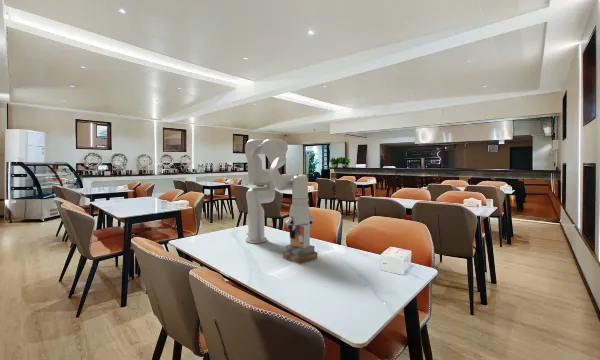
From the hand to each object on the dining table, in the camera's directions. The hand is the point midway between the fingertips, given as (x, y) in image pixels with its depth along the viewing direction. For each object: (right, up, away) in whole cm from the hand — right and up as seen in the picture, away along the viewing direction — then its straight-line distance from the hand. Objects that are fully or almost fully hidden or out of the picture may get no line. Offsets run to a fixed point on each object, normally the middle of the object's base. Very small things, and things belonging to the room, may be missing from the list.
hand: (300, 236), depth 143 cm
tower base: (0, -11, +1) cm, 11 cm away
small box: (0, -5, +1) cm, 5 cm away
